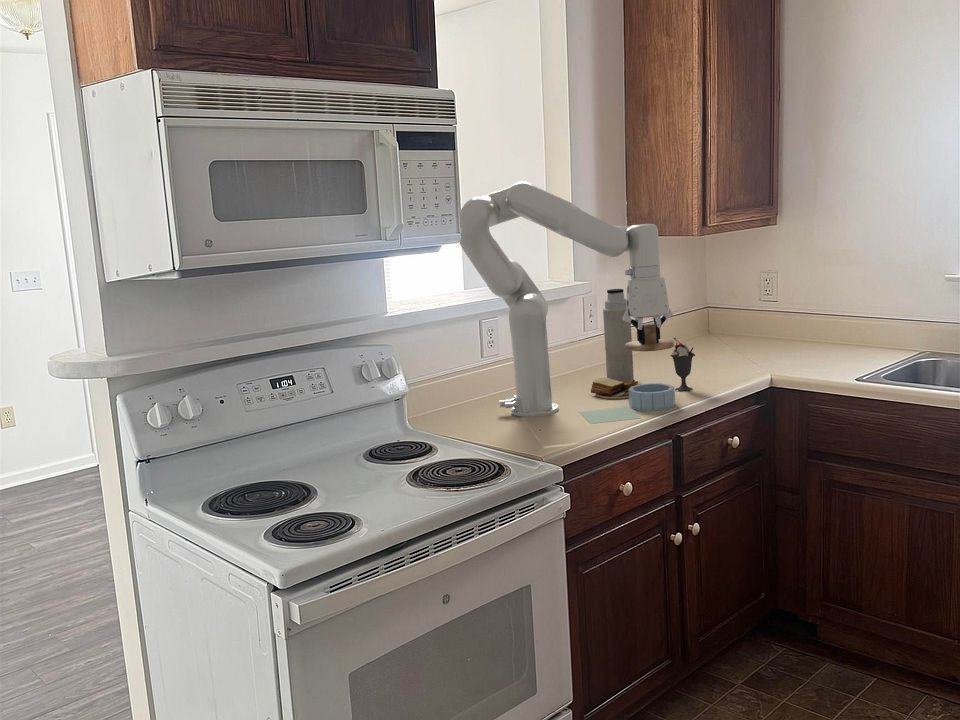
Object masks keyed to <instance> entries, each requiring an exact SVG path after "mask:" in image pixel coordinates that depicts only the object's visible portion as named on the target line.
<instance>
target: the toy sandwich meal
mask: <svg viewBox="0 0 960 720" xmlns="http://www.w3.org/2000/svg"><path fill="white" fill-rule="evenodd" d="M635 385H639V381H638V380H635V381H633V382H631V383H624V382H621V381H618V380H613V379H609V378H607V377H601V378H597V379H594V380H593V381H592V384H591V388H590V393H591V394H595V396H596V397H598V398H600V399H603V400H604V399H605V400H623V399H625V400H626V399H629V390H628V389H629V388H630V387H632V386H635Z"/></svg>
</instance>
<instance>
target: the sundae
mask: <svg viewBox="0 0 960 720" xmlns="http://www.w3.org/2000/svg"><path fill="white" fill-rule="evenodd" d="M672 339H673V340H675V341H676V344H674V349H673V350H672V352H671V355H670V357H671V358H672V361H673V366H674V369H675V370H674V371H675V373H676V375H677V376H678V377H679V378H681V382H680V383H681V384H680V386H679V387H675V388H674V391H676V390H678V391H677V392H681V391H685V392H691V391H693V390H694V389H693V387H690V386H688V385H687V381H686V379H687V377H688V376H689V375H690V374H691V373H692V371H691V370H692V364H693V363H692V362H693V358H694V357H696V355H695V353H694V352H693V350H694V347H691V349H689V346H687V345H685V344H683V343H682V342H680V341H679V340H678V339H677V338H676V337H673V338H672ZM690 390H691V391H690Z"/></svg>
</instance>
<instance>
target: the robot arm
mask: <svg viewBox="0 0 960 720" xmlns="http://www.w3.org/2000/svg"><path fill="white" fill-rule="evenodd" d="M460 211H461V228H462V239H461V242H460V243H459V245H460V247H461V249H462V250H463V252H464V253H465V255H466V257H467V258H468V259H469V261H470V263H471V264H472V265H473V267H474V269H475V270H476V271H477V273H478V274H479V275H480V277H481V278H482V280H483V281H484V283H485V284H486V285H487V287H488V289H489V290H490V292H491V293H492V294H494V295H495V296H496V297H499V298H501V299H503V301H504V303H505V304H506V305H507V306H508V308H509V311H508V322H509V324H508V325H509V330H510V331H509V332H510V338H511V347H512V348H511V349H512V350H511V351H512V358H513V360H512V361H513V373H514V374H513V375H514V385H515V394H514V395H513V397H511V398H510V399H502V400H501V399H500V400H499V401H498V404H499V408H505V409H510V408H511V415H513V416H516V417H520V418H521V417H522V418H523V417H524V418H525V417H527V418H534V417H542V416H548V415H552V414H554V413H555V414H556V412H558V411H559V405H558V404H557V403H553V397H552V396H553V395H552V382H551V369H550V368H551V367H550V354H549V343H548V342H549V341H548V331H547V330H548V329H547V316H548V311H549V306H548V302H547V300H546V298H545V297H544V295H543V293H541V290H540V289H539V288H538V287H537V285H536V284H535V283H534V280H532V278H531V277H530V276H529V274H528V273H527V271H526V270H525V269H524V268H523V266H522V265H521V264H520V263H519V262H518V261H515V260H513V259H510V258H509V257H508V256H507V255H506V253H505V252H504V250H503V248H501V247H500V244H499V243H498V242H497V241H496V239H495V238H494V237H493V235H492V234H491V232H490V228H491V227H494V226H496V225H497V226H498V225H499V224H503V223H506V222H509V221H512V220H516V219H517V218H523V219H525V220H527V221H530V222H533V223H534V224H536V225H539V226H541V227H543V228H545V229H547V230H549V231H552V232H553V233H555V234H558V235H560V236H562V237H564V238H566V239H570V240H571V241H574V242H575V243H578V244H580V245H583V246H584V247H586V248H589V249H591V250H594V251H595V252H598V253H599V254H601V255H603V256H607V257H609V258H610V257H611V258H616V257H620V256H621V255H623V254H624V253H628V254H629V255H628V256H629V268H628V269H625V270H624V274H625V276H629V277H630V278H629V279H628V281H627V288H626V300H627V309H626V311H625V314H624V316H623V318H622V319H623V320H624V321H626V322H629V323H631V326H633V327H634V328H635V329H636V337H637V338H636V339H637V340H638V341H639V343H640V344H642V345H645V333H644V329H643V327H642V326H643V324H644V323H643V321H644V320H643V319H645V318H652V321H653V322H652V323H653V324H656V343H659V339H661V328H662V326H663V324H664V323H665V322H666V320H668V319H669V318H671V317H672V316H673V312H672V309H671V308H670V306H669V298H668V291H667V284H666V281H665V277H664V276H661V265H660V264H661V263H660V262H661V258H660V243H659V241H660V240H659V228H658V226H657V224H654V223H641V224H634V225H613V224H611V223H608V222H606V221H605V220H602V219H599V218H598V217H595V216H593V215H591V214H589V213H587V212H585V211H584V210H582V209H580V207H579V206H577V205H576V204H574V203H572V202H570V201H568V200H566V199H564V198H562V197H560V196H557V195H555V194H554V193H550V192H548V191H546V190H544V189H543V188H539V187H538V186H536V185H534V184H533V183H530V182H528V181H518V182H516V183H514V184H512V185H511V186H508V187H507V188H503V189H501V190H497V191H494V192H491V193H489V194H485V195H482V196H479V195H478V196H474V197H472V198H470V199H468V200H467V201H466V202H465V203H464V204H463V206H462V207H461V209H460ZM630 317H631V318H630ZM633 318H634V319H633Z"/></svg>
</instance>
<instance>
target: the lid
mask: <svg viewBox="0 0 960 720" xmlns="http://www.w3.org/2000/svg"><path fill="white" fill-rule="evenodd" d="M642 327H643V329H644V333H645V345H642V344H640V343H639V341H638V340H632V341H631V342H628V343H626V344H625V349H626V350H630V351H632V352H656V351H663V350H664V351H665V350H668V349H669V350H670V349H671V348H673V347H675V344H674V343H675V342H674V341H673V340H671V339H666V338H665V339H664V338H660V339H659V343H656V324H654V323H653V322H649V323H643V326H642Z"/></svg>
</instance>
